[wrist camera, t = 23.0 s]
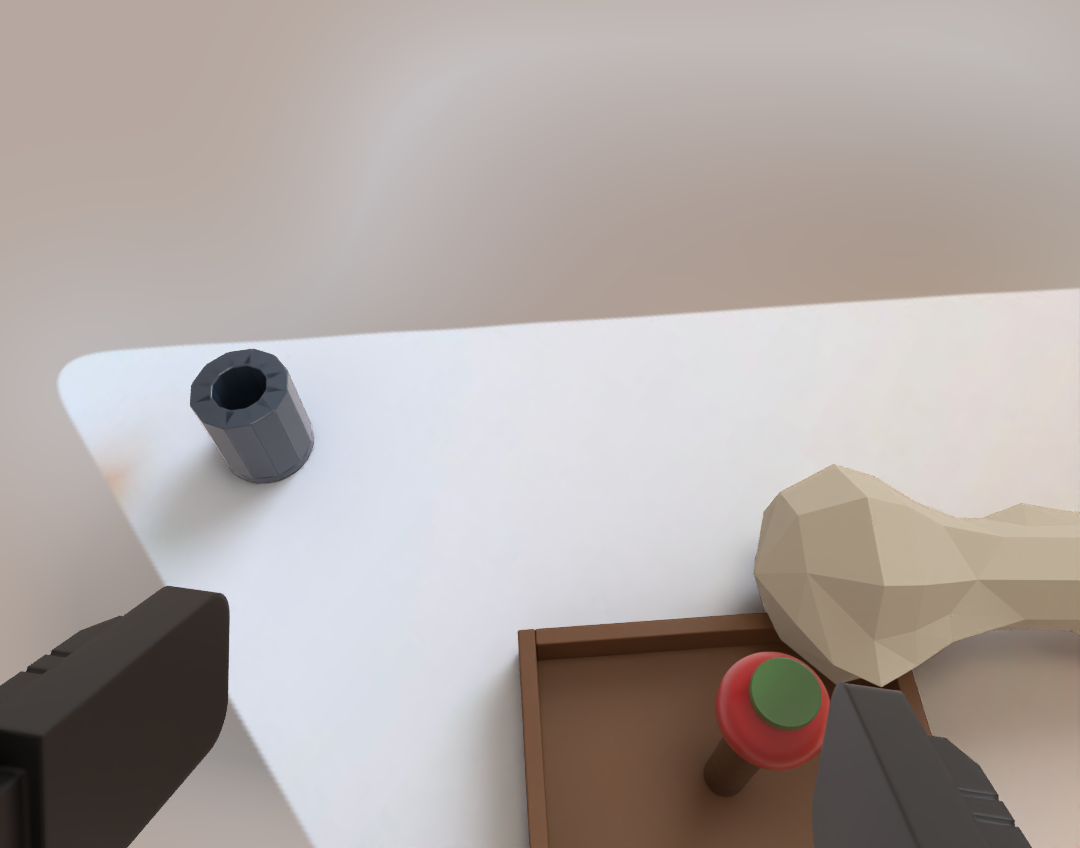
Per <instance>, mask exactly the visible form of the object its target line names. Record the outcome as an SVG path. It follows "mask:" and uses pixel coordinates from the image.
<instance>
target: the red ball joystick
mask: <svg viewBox="0 0 1080 848" xmlns="http://www.w3.org/2000/svg"><path fill="white" fill-rule="evenodd" d="M829 707H830V698H829V695H828V693H827V690H826V688H825V686H824V684H823V682H822V681H821V679H820V678H819V677H818V675H817V674H816V673H815V672H814V671H813V670H812V669H811V668H810V667H809V666H808V665H806V664H805V663H803V662H802V661H800V660H799V659H797V658H795V657H793V656H790V655H787V654H784V653H779V652H759V653H754V654H751V655H749V656H746V657H744V658H742V659H741V660H739V661H738V662H736V663H735V664H734V665H733V666H732V667H731V668H730V669H729V670H728V671H727V672H726V674H725V675H724V677H723V678H722V680H721V682H720V685H719V687H718V691H717V695H716V702H715V710H716V717H717V722H718V725H719V728H720V731H721V733H722V735H723V737H722V739H721V740H720V742H719V744H718V745H717V747H716V748H715V750H714V752H713V753H712V755H711V756H710V758H709V760H708V761H707V763H706V765H705V768H704V777H705V781H706V783H707V785H708V787H709V788H710V789H711V790H712V791H713V792H714V793H716V794H717V795H720V796H724V797H730V796H734V795H736V794H738V793H739V792H740V791H741V790H742V788H743V787H744V786H745V785H746V784H747V783H748V782H749V780H750V779H751V778H752V777H753V776H754V775H755V774H756V772H757V771H758V770H759V769H760V768H764V769H769V770H788V769H792V768H796V767H799V766H801V765H803V764H805V763H806V762H808V761H810V760H811V759H812V758H813V757H815V756H816V755H817V754H818V752H819V751H820V750H821V749H822V745H823V740H824V734H825V729H826V723H827V718H828V712H829Z"/></svg>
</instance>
